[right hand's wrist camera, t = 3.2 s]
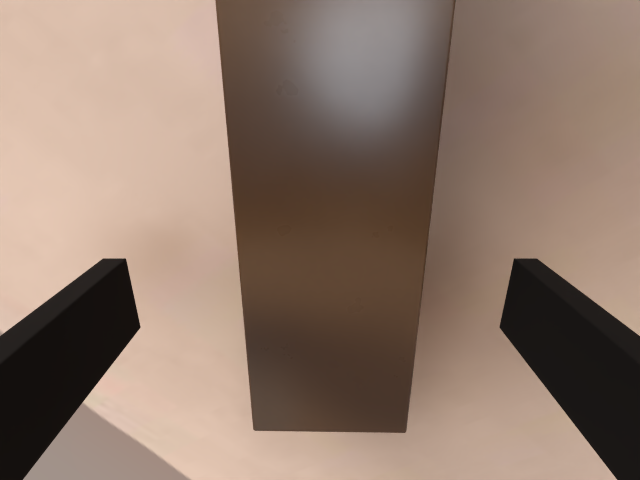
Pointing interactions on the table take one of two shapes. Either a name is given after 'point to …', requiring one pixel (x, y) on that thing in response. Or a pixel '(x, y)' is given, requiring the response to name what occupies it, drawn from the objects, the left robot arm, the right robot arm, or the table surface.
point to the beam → (332, 199)
